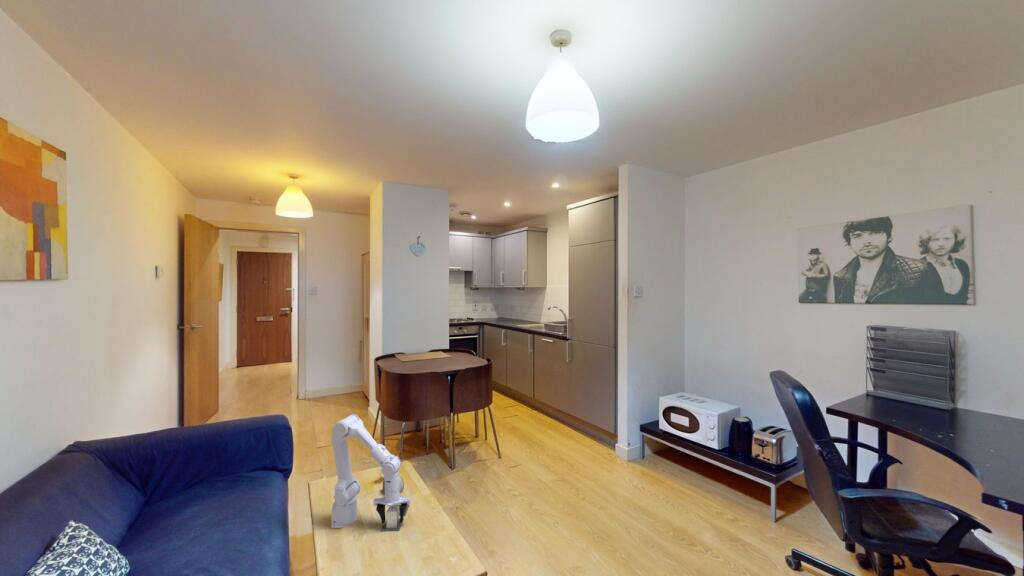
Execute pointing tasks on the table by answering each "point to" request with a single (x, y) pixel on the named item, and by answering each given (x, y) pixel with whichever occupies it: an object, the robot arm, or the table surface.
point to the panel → (398, 524)
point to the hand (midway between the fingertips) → (392, 521)
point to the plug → (392, 516)
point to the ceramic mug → (401, 485)
